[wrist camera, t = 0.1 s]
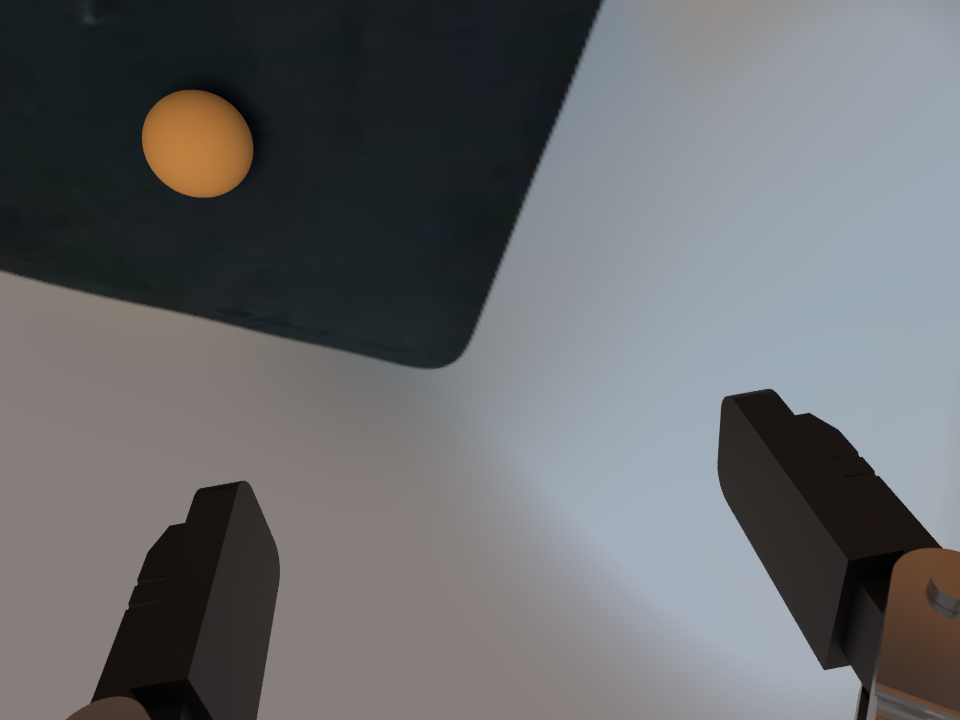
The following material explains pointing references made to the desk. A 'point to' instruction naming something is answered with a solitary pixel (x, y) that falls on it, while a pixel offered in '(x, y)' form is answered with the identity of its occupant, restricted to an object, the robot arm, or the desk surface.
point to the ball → (197, 143)
